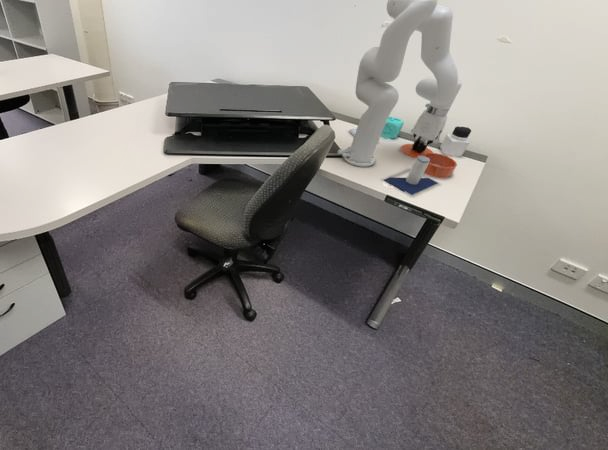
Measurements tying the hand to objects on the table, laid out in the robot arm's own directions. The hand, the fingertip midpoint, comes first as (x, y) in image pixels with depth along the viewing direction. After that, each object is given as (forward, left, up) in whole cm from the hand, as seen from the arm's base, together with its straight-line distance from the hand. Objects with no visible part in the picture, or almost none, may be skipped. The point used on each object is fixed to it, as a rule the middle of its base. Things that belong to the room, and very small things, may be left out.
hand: (417, 150), depth 147 cm
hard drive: (-19, +15, -2) cm, 24 cm away
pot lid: (0, 0, -1) cm, 1 cm away
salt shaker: (-14, -24, -1) cm, 28 cm away
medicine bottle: (+16, +1, -2) cm, 16 cm away
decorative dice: (-6, +17, -2) cm, 18 cm away
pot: (0, -15, -1) cm, 15 cm away
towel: (-14, -24, -1) cm, 28 cm away
